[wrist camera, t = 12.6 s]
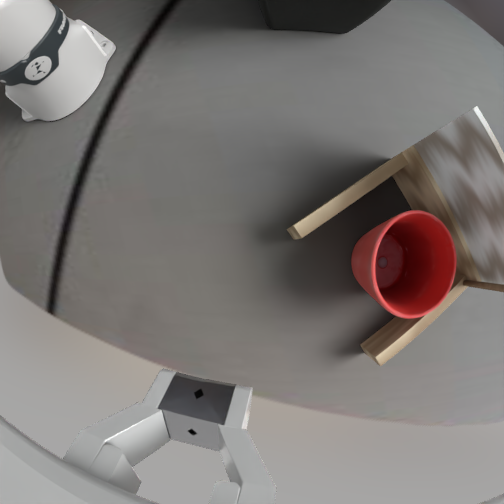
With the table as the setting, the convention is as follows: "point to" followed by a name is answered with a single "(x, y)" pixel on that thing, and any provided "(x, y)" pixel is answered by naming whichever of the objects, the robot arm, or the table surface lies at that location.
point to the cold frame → (440, 212)
